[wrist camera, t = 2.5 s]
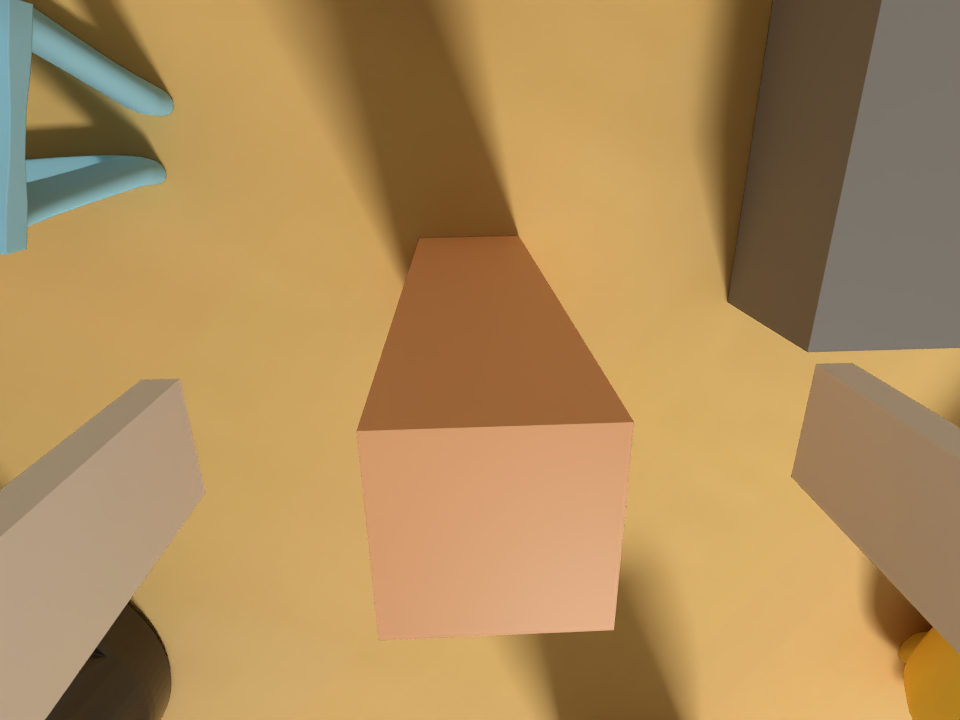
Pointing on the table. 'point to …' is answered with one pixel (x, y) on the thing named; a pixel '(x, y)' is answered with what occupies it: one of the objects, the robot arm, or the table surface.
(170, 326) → the table surface
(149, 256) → the table surface
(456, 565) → the tall pin
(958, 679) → the teapot
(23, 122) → the blue tall openwork piece
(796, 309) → the hole block
